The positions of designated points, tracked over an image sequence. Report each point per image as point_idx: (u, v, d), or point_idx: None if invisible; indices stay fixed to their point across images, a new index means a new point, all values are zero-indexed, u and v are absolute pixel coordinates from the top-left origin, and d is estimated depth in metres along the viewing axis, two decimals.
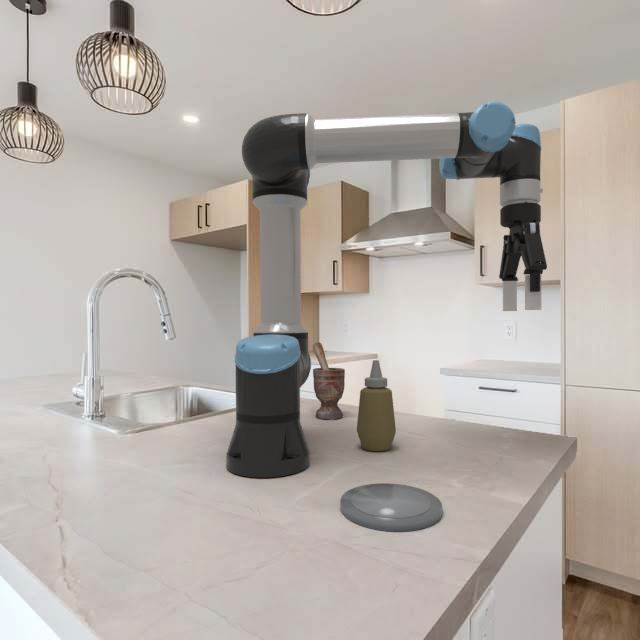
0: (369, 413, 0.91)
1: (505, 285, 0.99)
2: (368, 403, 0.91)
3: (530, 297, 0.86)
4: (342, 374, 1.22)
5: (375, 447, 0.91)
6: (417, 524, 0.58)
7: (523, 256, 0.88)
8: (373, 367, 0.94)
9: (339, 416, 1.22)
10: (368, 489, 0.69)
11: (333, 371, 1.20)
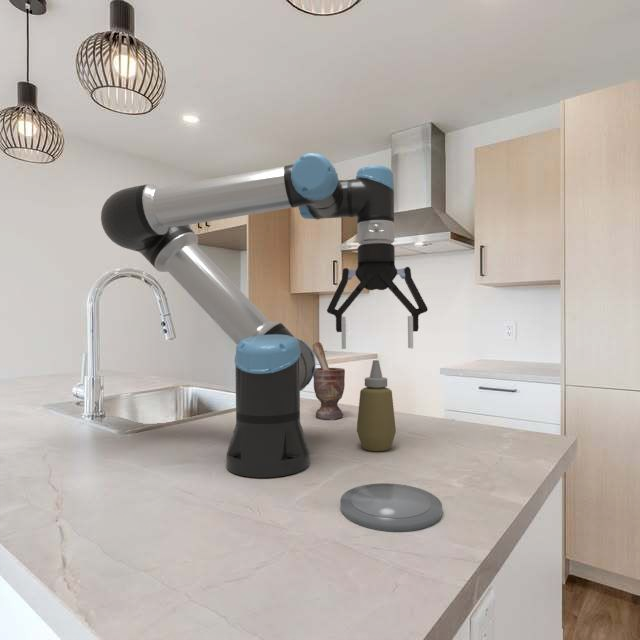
0: (369, 413, 0.91)
1: None
2: (368, 403, 0.91)
3: None
4: (342, 374, 1.22)
5: (375, 447, 0.91)
6: (417, 524, 0.58)
7: None
8: (373, 367, 0.94)
9: (339, 416, 1.22)
10: (368, 489, 0.69)
11: (333, 371, 1.20)
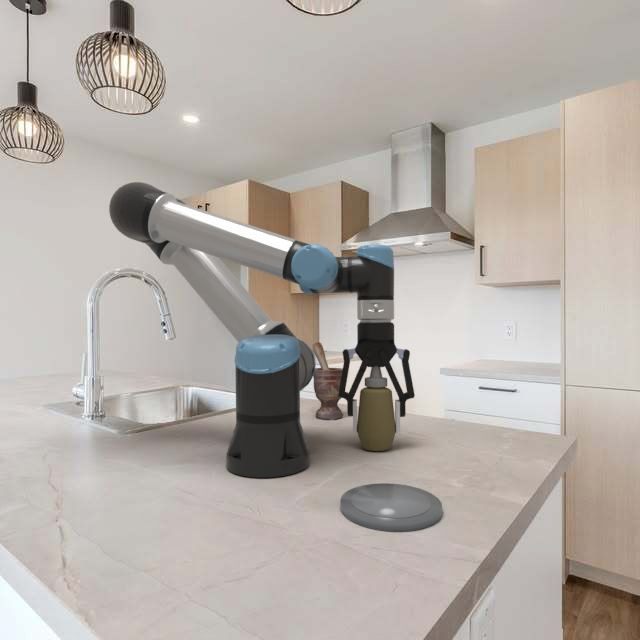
0: (369, 413, 0.91)
1: (395, 404, 0.95)
2: (368, 402, 0.91)
3: None
4: None
5: (375, 447, 0.91)
6: (417, 524, 0.58)
7: None
8: (373, 367, 0.94)
9: (339, 416, 1.22)
10: (368, 489, 0.69)
11: (333, 371, 1.20)
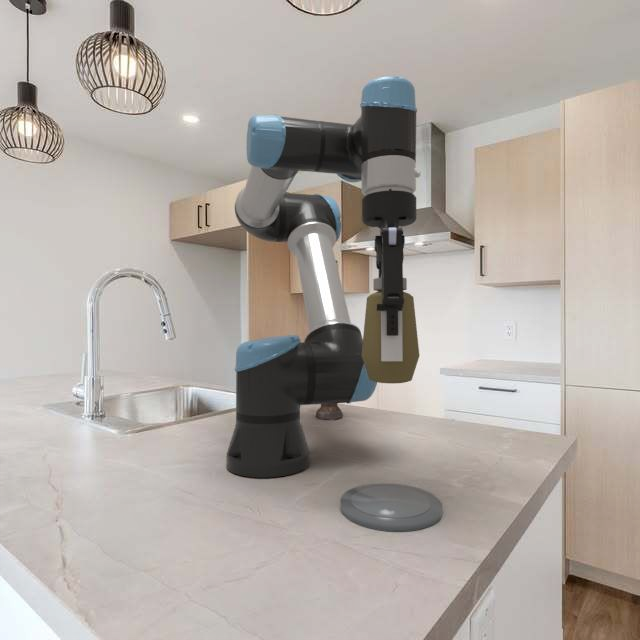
0: (415, 326, 0.63)
1: None
2: (413, 310, 0.62)
3: (386, 343, 0.60)
4: None
5: (412, 375, 0.64)
6: (417, 524, 0.58)
7: None
8: None
9: (339, 416, 1.22)
10: (368, 489, 0.69)
11: None
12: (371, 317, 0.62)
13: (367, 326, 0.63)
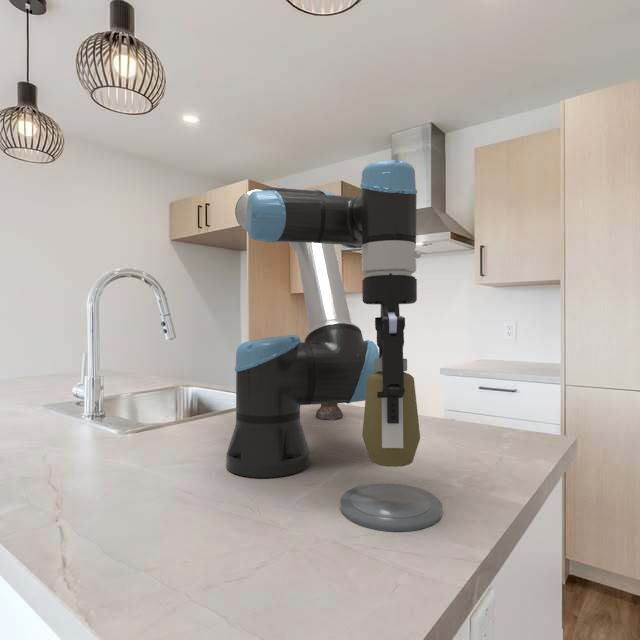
0: (415, 408, 0.62)
1: None
2: (413, 393, 0.62)
3: (387, 430, 0.59)
4: None
5: (413, 456, 0.63)
6: (417, 524, 0.58)
7: (382, 363, 0.60)
8: None
9: (339, 416, 1.22)
10: (368, 489, 0.69)
11: None
12: (372, 400, 0.62)
13: (368, 408, 0.63)
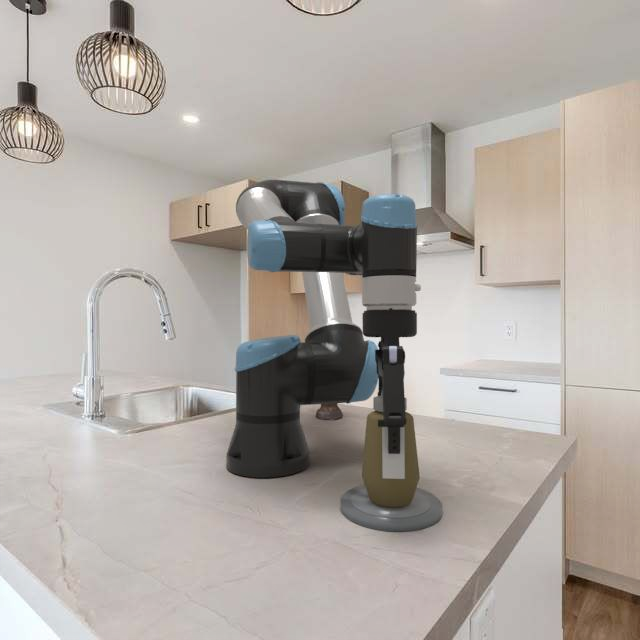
0: (415, 448, 0.63)
1: None
2: (413, 433, 0.62)
3: (388, 460, 0.57)
4: None
5: (413, 495, 0.64)
6: (417, 524, 0.58)
7: None
8: None
9: (339, 416, 1.22)
10: None
11: None
12: (371, 441, 0.62)
13: (367, 448, 0.63)
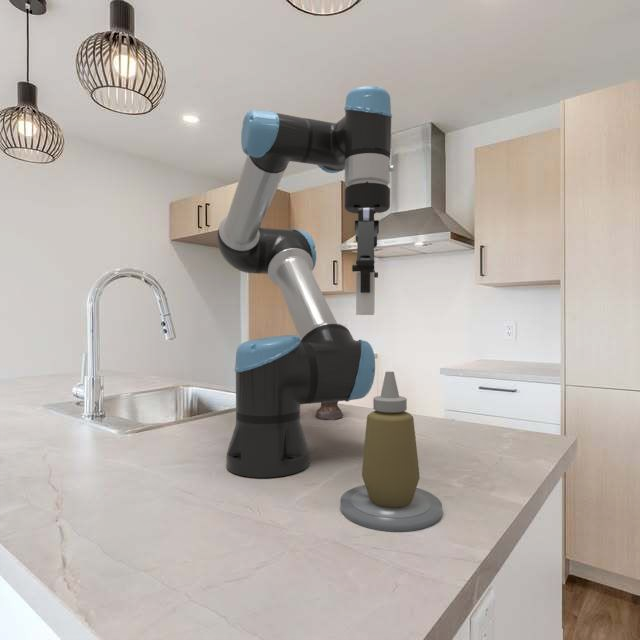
0: (415, 448, 0.63)
1: None
2: (413, 433, 0.62)
3: (360, 299, 0.70)
4: None
5: (413, 495, 0.64)
6: (417, 524, 0.58)
7: None
8: (394, 382, 0.64)
9: (339, 416, 1.22)
10: None
11: None
12: (371, 440, 0.62)
13: (367, 448, 0.63)
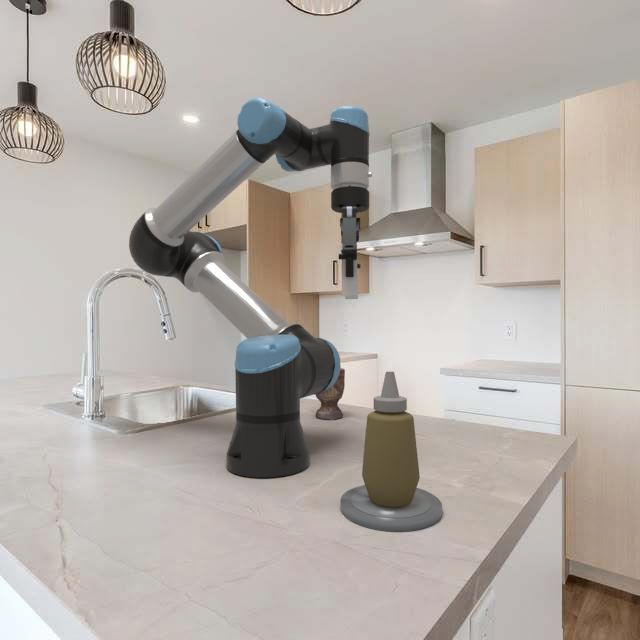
0: (415, 448, 0.63)
1: None
2: (413, 433, 0.63)
3: (346, 283, 0.83)
4: (342, 374, 1.22)
5: (413, 495, 0.64)
6: (417, 524, 0.58)
7: None
8: (394, 382, 0.64)
9: (339, 416, 1.22)
10: None
11: None
12: (371, 440, 0.62)
13: (367, 448, 0.63)
